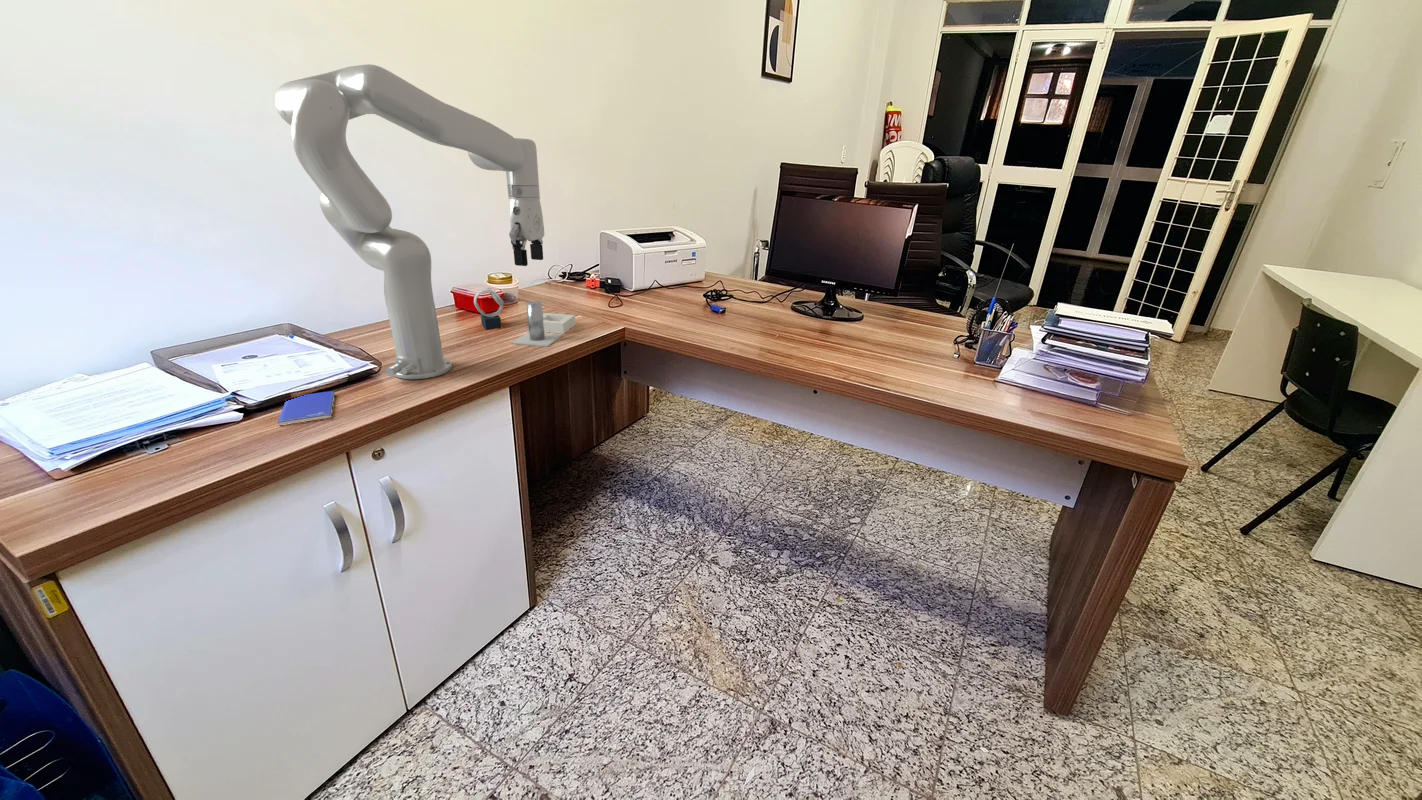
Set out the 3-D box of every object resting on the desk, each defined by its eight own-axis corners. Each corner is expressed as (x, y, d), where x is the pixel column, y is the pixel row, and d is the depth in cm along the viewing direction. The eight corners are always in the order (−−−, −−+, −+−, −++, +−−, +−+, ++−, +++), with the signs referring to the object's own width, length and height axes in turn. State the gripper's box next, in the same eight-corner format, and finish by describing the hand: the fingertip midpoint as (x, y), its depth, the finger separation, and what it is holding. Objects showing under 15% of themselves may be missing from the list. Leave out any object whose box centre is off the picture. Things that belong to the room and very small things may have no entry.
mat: (547, 346, 148) (547, 345, 148) (512, 344, 150) (512, 342, 149) (561, 336, 158) (561, 334, 157) (528, 333, 159) (528, 332, 158)
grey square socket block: (563, 333, 160) (563, 323, 158) (532, 331, 161) (531, 321, 159) (575, 324, 168) (574, 315, 167) (545, 322, 169) (544, 312, 168)
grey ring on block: (508, 327, 164) (504, 290, 159) (479, 330, 159) (474, 292, 155) (503, 322, 168) (499, 286, 163) (475, 325, 164) (470, 288, 159)
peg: (541, 341, 151) (538, 305, 147) (527, 340, 152) (523, 304, 148) (547, 336, 155) (544, 301, 151) (533, 335, 155) (530, 300, 151)
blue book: (329, 413, 105) (333, 390, 115) (277, 421, 102) (285, 396, 111) (331, 421, 106) (335, 397, 116) (279, 429, 102) (288, 403, 112)
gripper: (523, 195, 130) (529, 269, 136) (551, 192, 145) (556, 258, 152) (492, 193, 130) (500, 267, 137) (524, 190, 146) (530, 256, 153)
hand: (529, 262), depth 145 cm, fingers open, 9 cm apart
